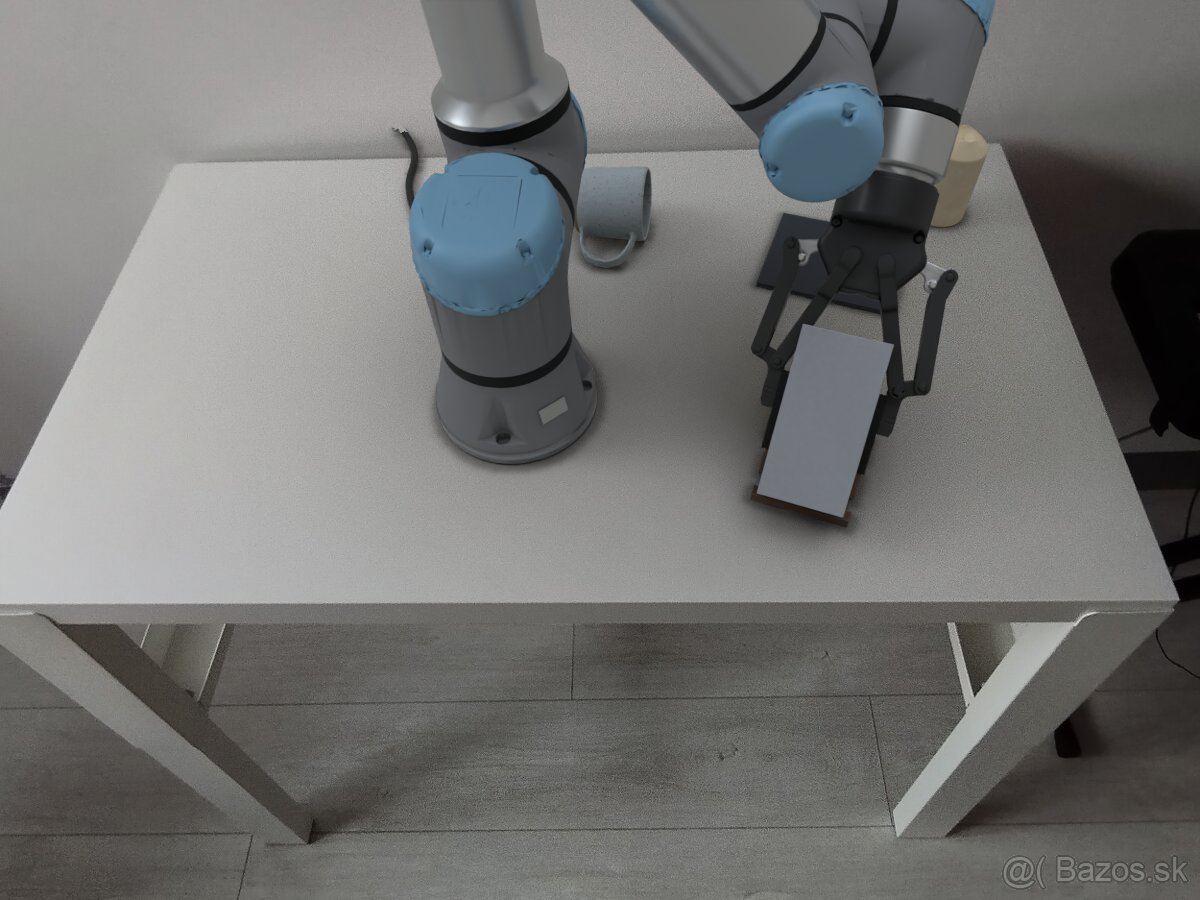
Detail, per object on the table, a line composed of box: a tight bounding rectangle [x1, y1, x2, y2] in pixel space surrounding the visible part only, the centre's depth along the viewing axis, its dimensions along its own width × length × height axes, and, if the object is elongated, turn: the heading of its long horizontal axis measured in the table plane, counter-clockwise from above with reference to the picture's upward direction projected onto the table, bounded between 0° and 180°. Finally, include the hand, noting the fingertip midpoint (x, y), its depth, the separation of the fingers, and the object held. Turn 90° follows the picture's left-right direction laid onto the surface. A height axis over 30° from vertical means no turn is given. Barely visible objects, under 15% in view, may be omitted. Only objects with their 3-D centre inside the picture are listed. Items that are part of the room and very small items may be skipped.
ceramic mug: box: [573, 166, 653, 268], centre depth 91 cm, size 11×8×8 cm
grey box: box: [757, 324, 894, 518], centre depth 69 cm, size 14×7×14 cm, turn 159°
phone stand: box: [749, 448, 862, 528], centre depth 73 cm, size 10×8×7 cm
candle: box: [930, 124, 990, 228], centre depth 91 cm, size 6×6×10 cm
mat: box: [756, 212, 881, 314], centre depth 90 cm, size 14×12×1 cm
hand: (812, 458), depth 70 cm, fingers closed on grey box, 7 cm apart
